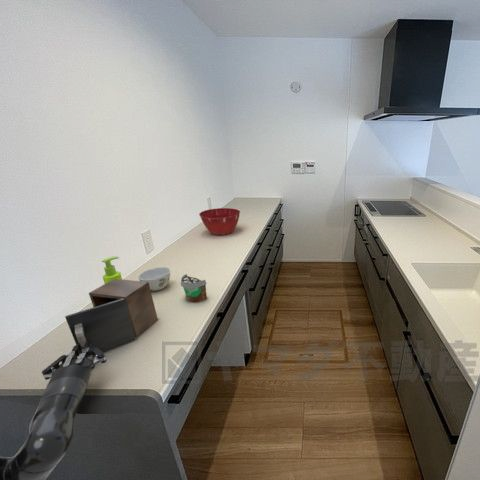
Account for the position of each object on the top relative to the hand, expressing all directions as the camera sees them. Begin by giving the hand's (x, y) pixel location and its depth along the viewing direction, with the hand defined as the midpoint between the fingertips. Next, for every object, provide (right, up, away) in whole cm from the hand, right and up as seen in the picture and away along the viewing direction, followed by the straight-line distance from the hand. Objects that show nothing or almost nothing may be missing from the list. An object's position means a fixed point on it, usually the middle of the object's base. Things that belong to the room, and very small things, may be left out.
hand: (84, 344), depth 78 cm
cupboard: (-1, -2, +20) cm, 20 cm away
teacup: (-7, +8, +44) cm, 46 cm away
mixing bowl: (-4, +37, +121) cm, 126 cm away
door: (+2, -6, +7) cm, 10 cm away
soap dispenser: (-16, +4, +35) cm, 39 cm away
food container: (+14, +4, +37) cm, 40 cm away
